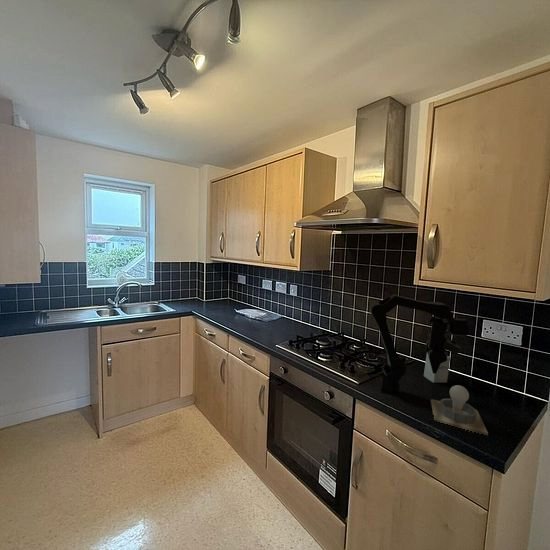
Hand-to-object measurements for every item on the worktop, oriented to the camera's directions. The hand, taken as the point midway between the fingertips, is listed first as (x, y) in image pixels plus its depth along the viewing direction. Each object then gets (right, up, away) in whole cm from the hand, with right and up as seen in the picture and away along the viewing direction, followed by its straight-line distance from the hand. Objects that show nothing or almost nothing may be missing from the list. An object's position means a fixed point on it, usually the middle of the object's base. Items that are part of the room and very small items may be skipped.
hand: (433, 369), depth 125 cm
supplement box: (+11, -11, +19) cm, 25 cm away
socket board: (+1, -14, -14) cm, 19 cm away
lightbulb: (+1, -13, -14) cm, 19 cm away
